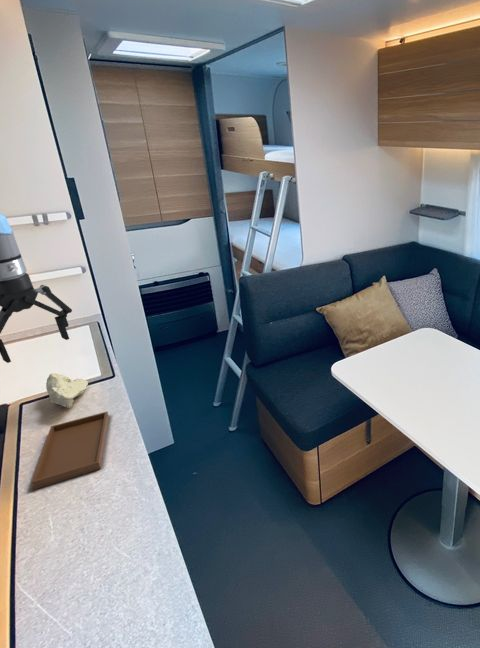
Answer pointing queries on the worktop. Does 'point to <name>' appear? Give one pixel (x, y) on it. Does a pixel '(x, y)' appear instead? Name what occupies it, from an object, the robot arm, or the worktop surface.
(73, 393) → the cheese
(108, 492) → the worktop surface
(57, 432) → the holder
